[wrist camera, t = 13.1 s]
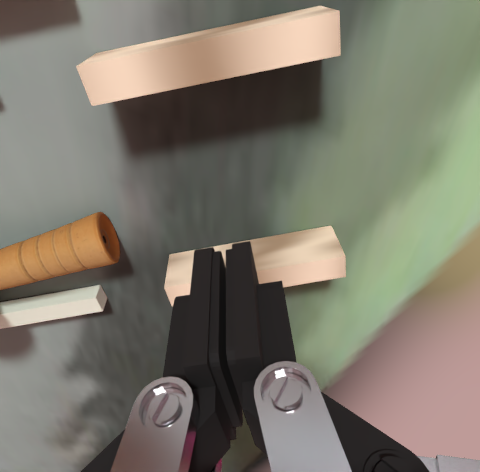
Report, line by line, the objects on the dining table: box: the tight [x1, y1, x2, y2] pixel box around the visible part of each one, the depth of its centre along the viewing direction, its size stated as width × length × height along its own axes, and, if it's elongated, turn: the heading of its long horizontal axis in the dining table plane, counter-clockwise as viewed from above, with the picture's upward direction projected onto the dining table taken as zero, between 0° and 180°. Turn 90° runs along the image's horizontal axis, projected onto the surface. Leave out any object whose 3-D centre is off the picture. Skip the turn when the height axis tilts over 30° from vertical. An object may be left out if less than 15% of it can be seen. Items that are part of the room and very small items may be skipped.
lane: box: [76, 6, 346, 306], centre depth 19 cm, size 10×13×3 cm
